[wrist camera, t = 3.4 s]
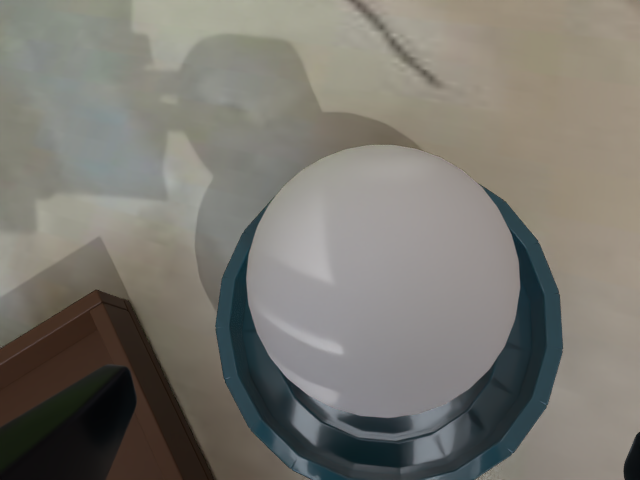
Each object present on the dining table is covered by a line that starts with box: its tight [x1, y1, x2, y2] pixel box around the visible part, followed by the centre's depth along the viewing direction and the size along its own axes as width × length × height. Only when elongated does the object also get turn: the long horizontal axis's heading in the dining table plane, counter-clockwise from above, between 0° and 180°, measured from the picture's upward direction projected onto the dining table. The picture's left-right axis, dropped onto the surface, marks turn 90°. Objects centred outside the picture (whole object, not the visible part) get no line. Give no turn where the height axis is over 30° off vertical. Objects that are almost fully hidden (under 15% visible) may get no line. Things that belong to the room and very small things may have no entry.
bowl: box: [215, 183, 563, 480], centre depth 18 cm, size 11×11×4 cm
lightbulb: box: [246, 145, 520, 418], centre depth 14 cm, size 6×6×11 cm
